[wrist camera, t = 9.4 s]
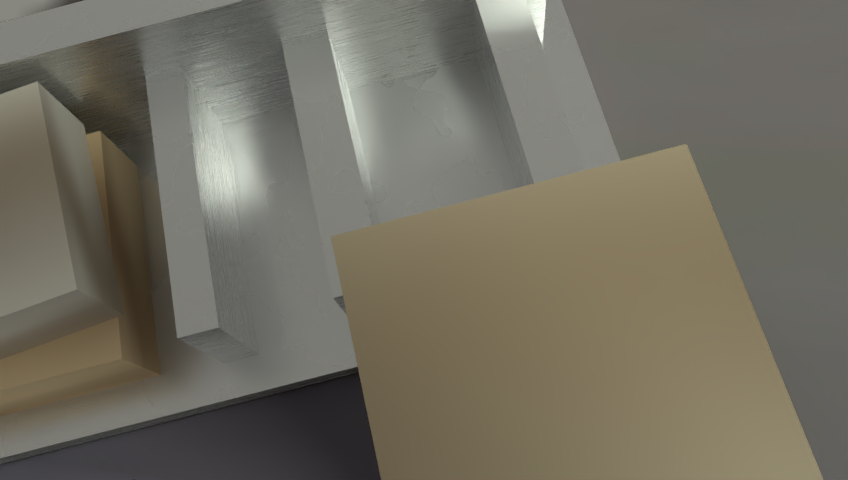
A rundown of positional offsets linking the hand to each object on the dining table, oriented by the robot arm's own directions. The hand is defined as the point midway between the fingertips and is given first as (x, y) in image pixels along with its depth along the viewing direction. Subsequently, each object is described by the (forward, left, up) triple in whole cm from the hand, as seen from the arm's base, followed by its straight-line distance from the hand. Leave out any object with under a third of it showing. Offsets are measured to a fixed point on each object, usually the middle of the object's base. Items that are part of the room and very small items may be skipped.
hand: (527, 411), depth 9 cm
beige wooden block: (-1, -1, -8) cm, 8 cm away
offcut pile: (0, +12, -7) cm, 14 cm away
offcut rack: (+3, +8, -8) cm, 11 cm away
